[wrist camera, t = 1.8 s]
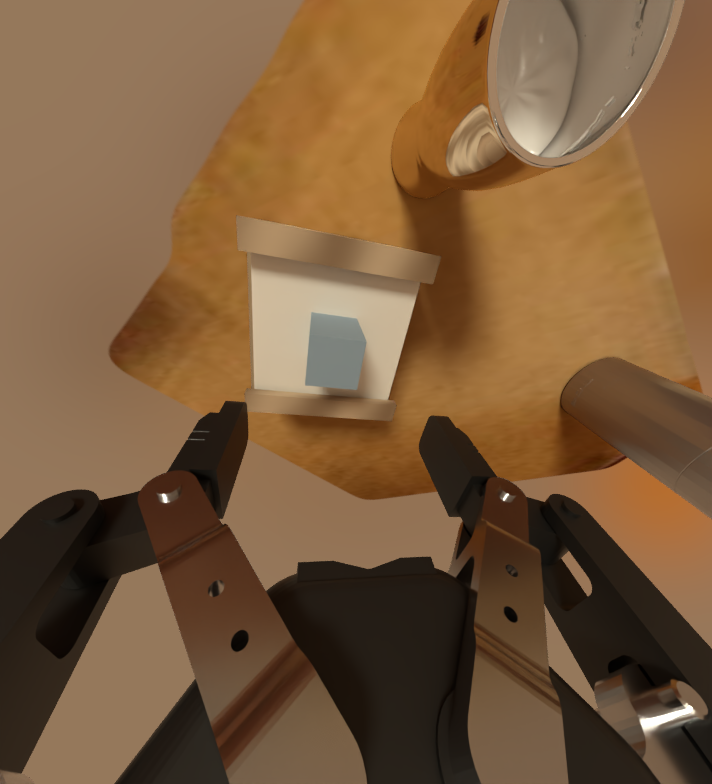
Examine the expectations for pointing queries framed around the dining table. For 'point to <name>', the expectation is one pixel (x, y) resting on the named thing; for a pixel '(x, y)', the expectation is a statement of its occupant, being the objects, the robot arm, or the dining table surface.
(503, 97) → the beer glass
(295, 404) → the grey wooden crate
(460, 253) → the dining table surface
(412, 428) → the dining table surface
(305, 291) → the cover plate
